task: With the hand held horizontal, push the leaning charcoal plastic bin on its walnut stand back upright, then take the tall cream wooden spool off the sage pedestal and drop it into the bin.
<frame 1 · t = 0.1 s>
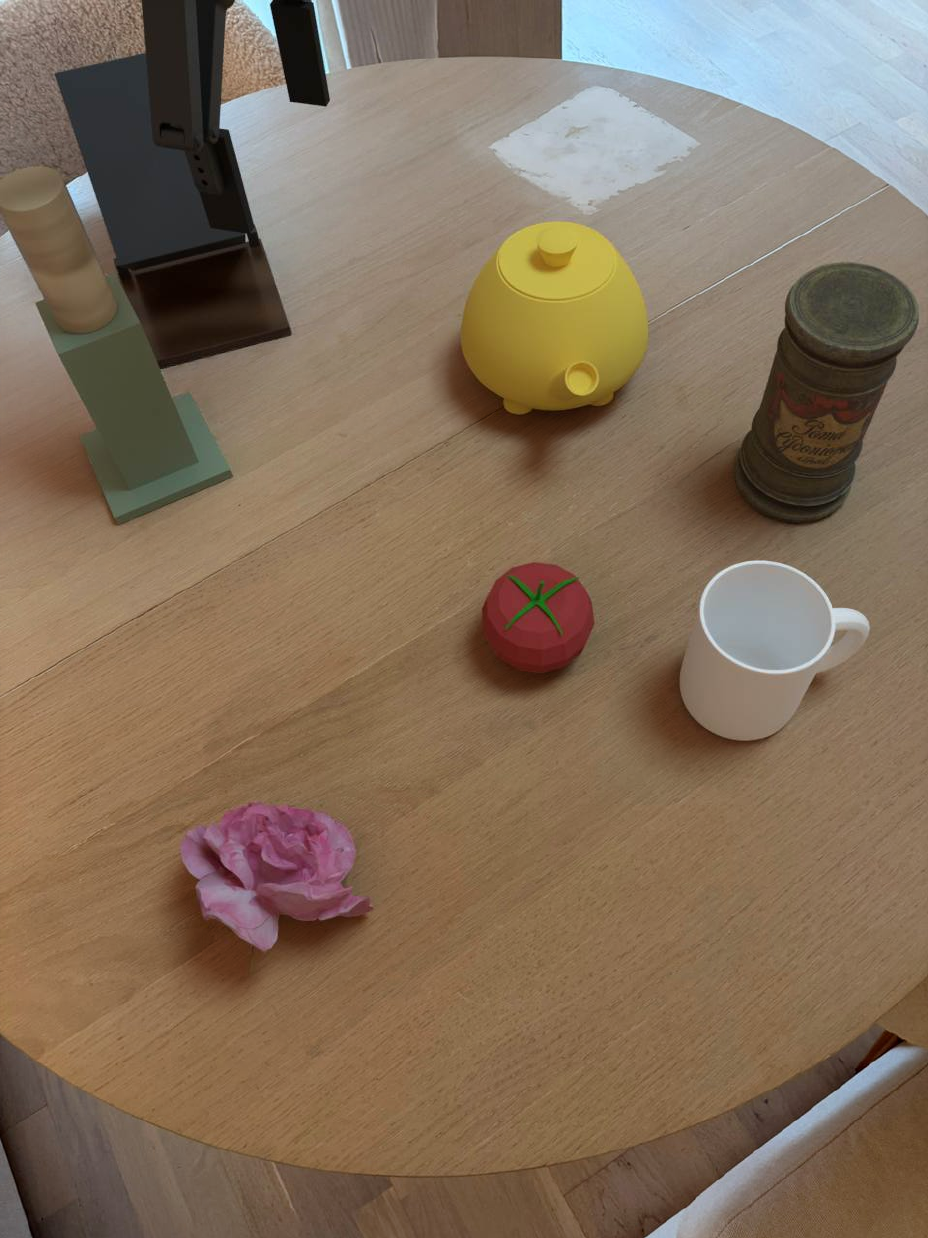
hand: (273, 161, 67), 24 cm above the table, tool pointing down, fingers open, 13 cm apart
bin stand: (203, 304, 95), on the table
teapot: (556, 389, 87), on the table
flower: (291, 886, 66), on the table
mug: (762, 688, 72), on the table
tomato: (536, 643, 74), on the table
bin: (158, 165, 89), point 10 cm above the table, hinge at 40.0°
pedestal: (157, 459, 85), on the table
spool: (86, 312, 72), point 16 cm above the table, touching pedestal
container: (789, 481, 81), on the table
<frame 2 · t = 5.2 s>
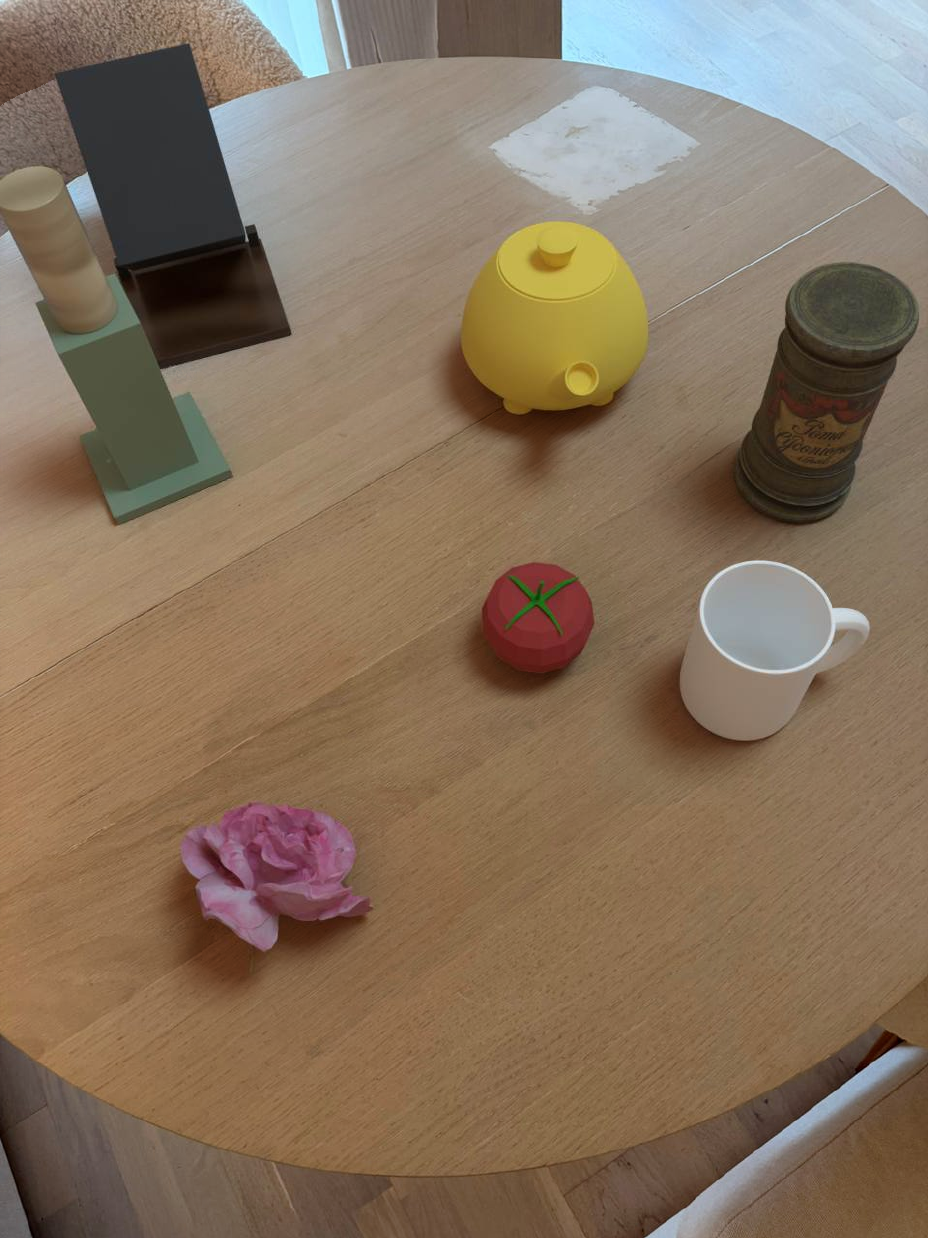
nothing on the table moved.
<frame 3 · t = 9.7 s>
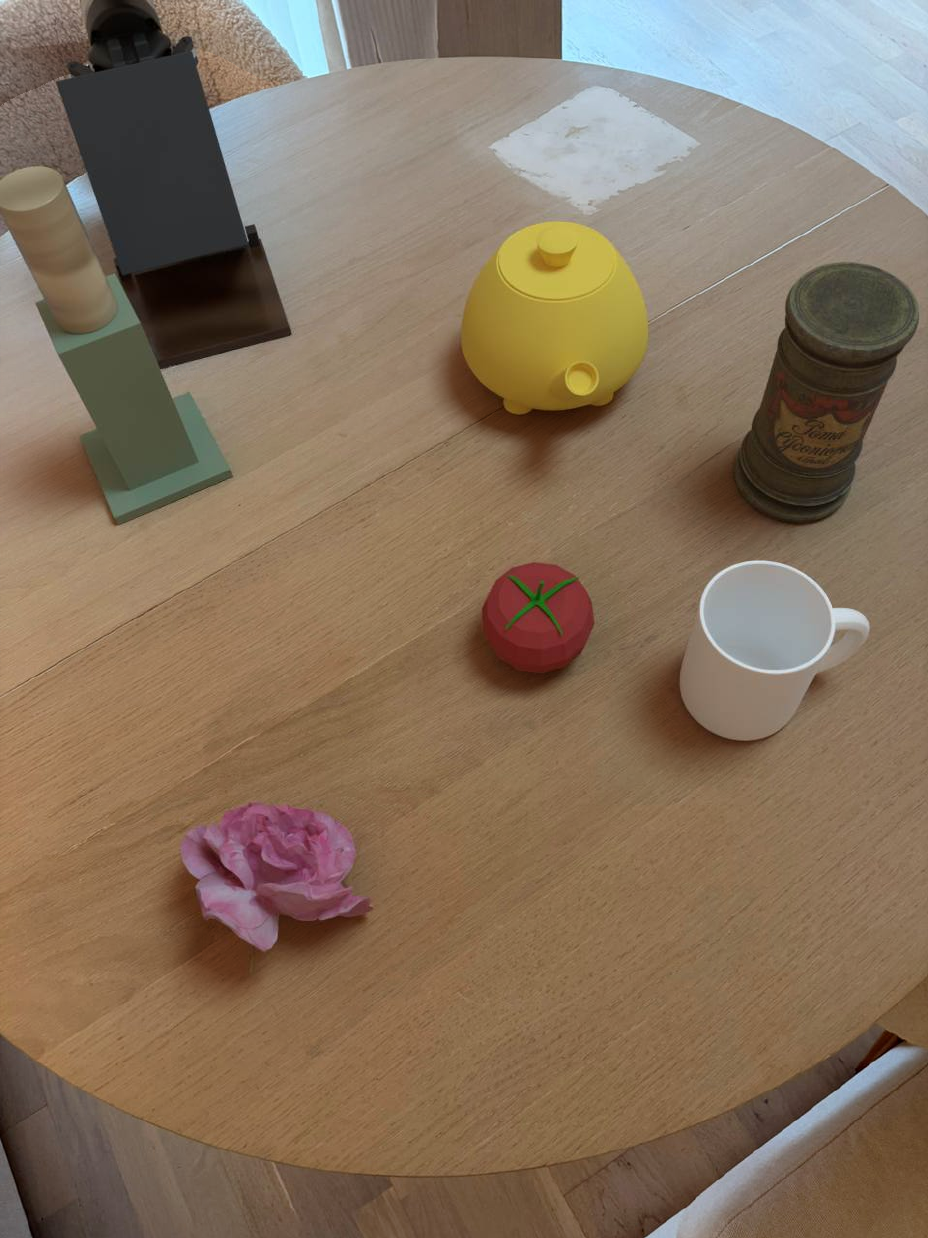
hand: (159, 154, 94), 8 cm above the table, tool horizontal, fingers closed
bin: (159, 169, 89), point 11 cm above the table, hinge at 35.9°, touching gripper
everything else where it was.
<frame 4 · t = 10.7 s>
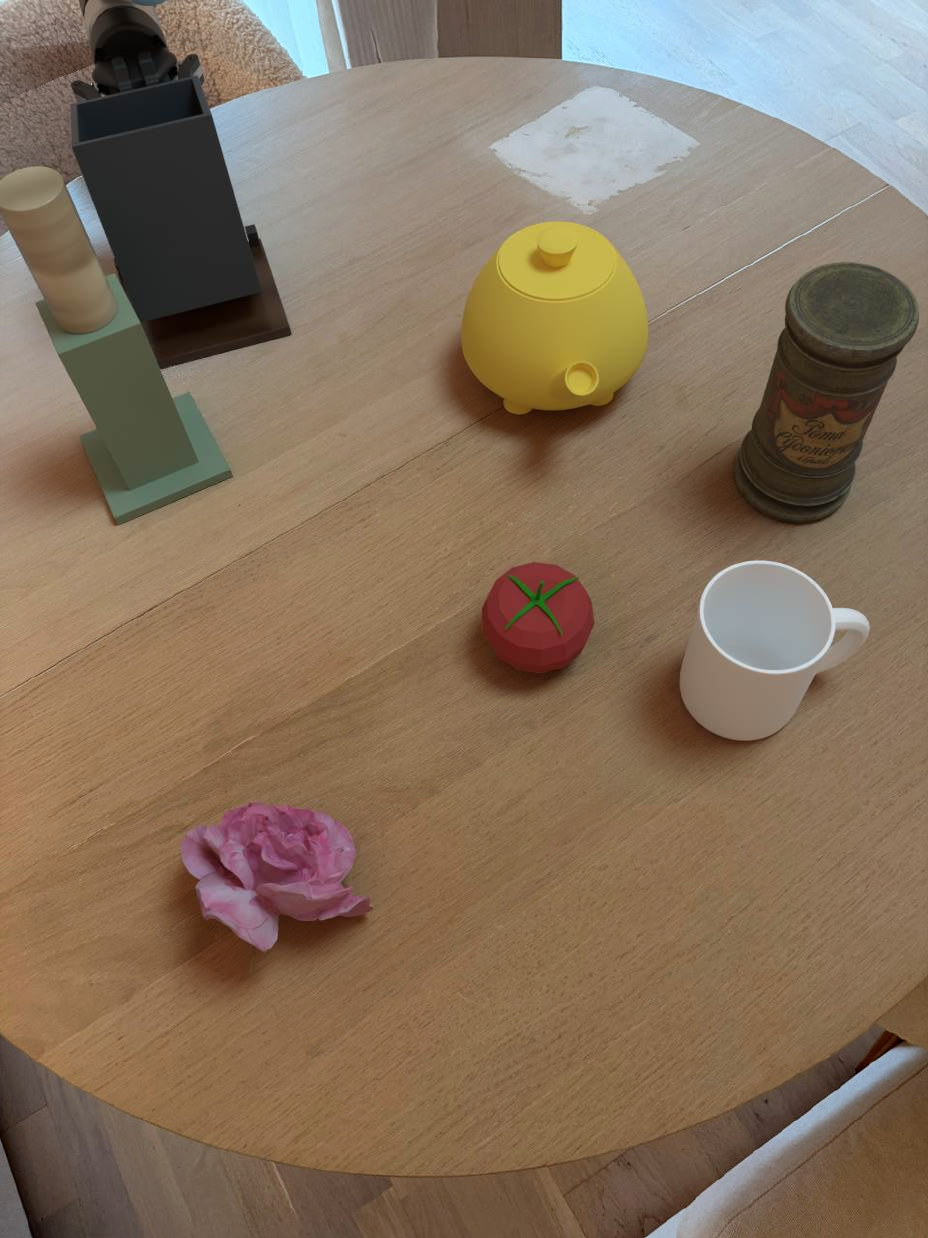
hand: (165, 176, 92), 8 cm above the table, tool horizontal, fingers closed
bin: (168, 200, 88), point 10 cm above the table, hinge at 14.1°, touching gripper
everything else where it was.
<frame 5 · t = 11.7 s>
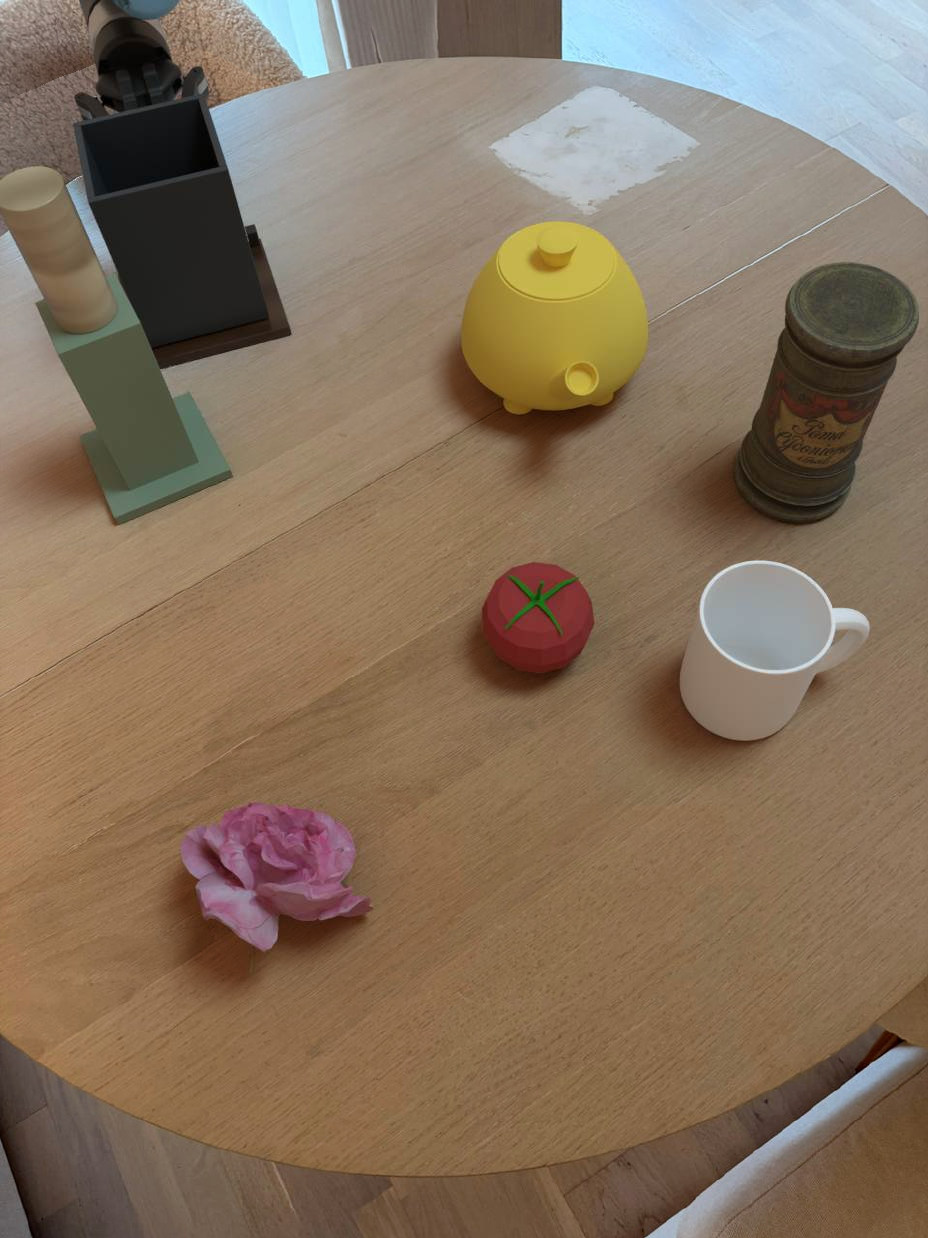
hand: (169, 191, 91), 8 cm above the table, tool horizontal, fingers closed
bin: (175, 224, 87), point 9 cm above the table, hinge at 0.1°, touching gripper
everything else where it was.
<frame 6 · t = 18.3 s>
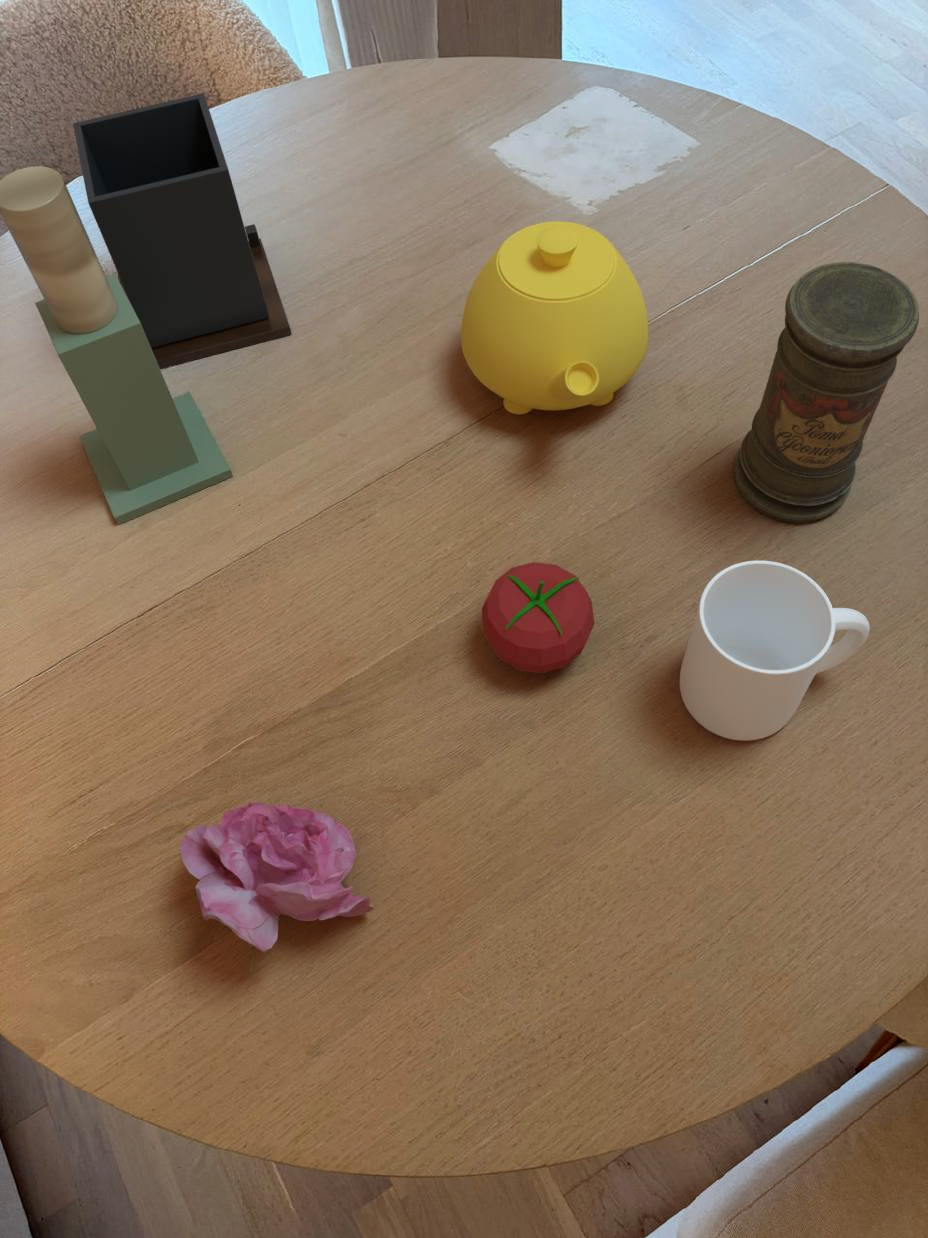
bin: (175, 224, 87), point 9 cm above the table, hinge at 0.1°
everything else where it was.
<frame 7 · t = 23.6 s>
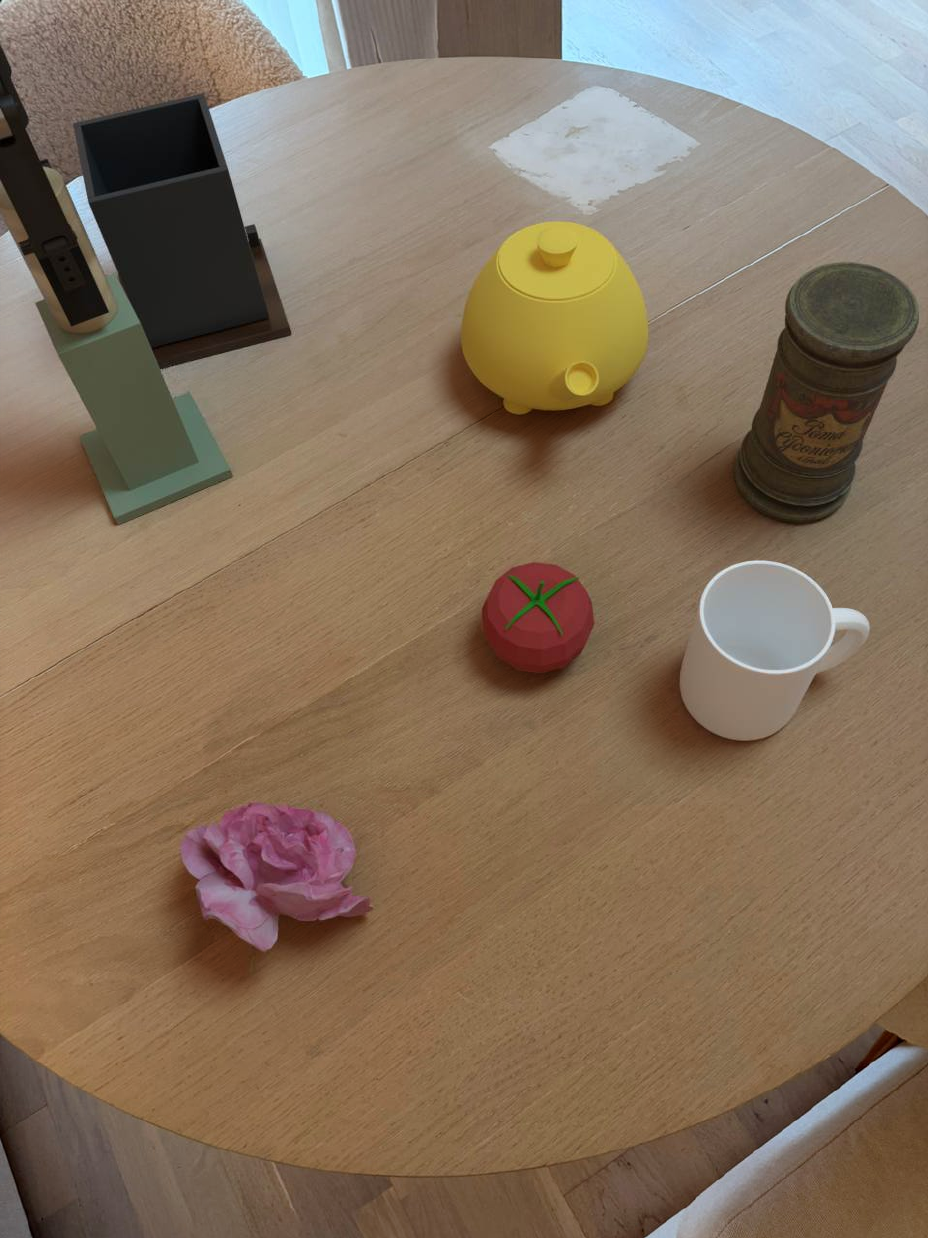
hand: (77, 293, 70), 18 cm above the table, tool pointing down, fingers closed on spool, 4 cm apart
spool: (86, 312, 72), point 16 cm above the table, touching gripper, pedestal
everything else where it was.
when the fingers open (18 cm above the table, at t = 29.9 s): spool drops 14 cm, resting on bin.
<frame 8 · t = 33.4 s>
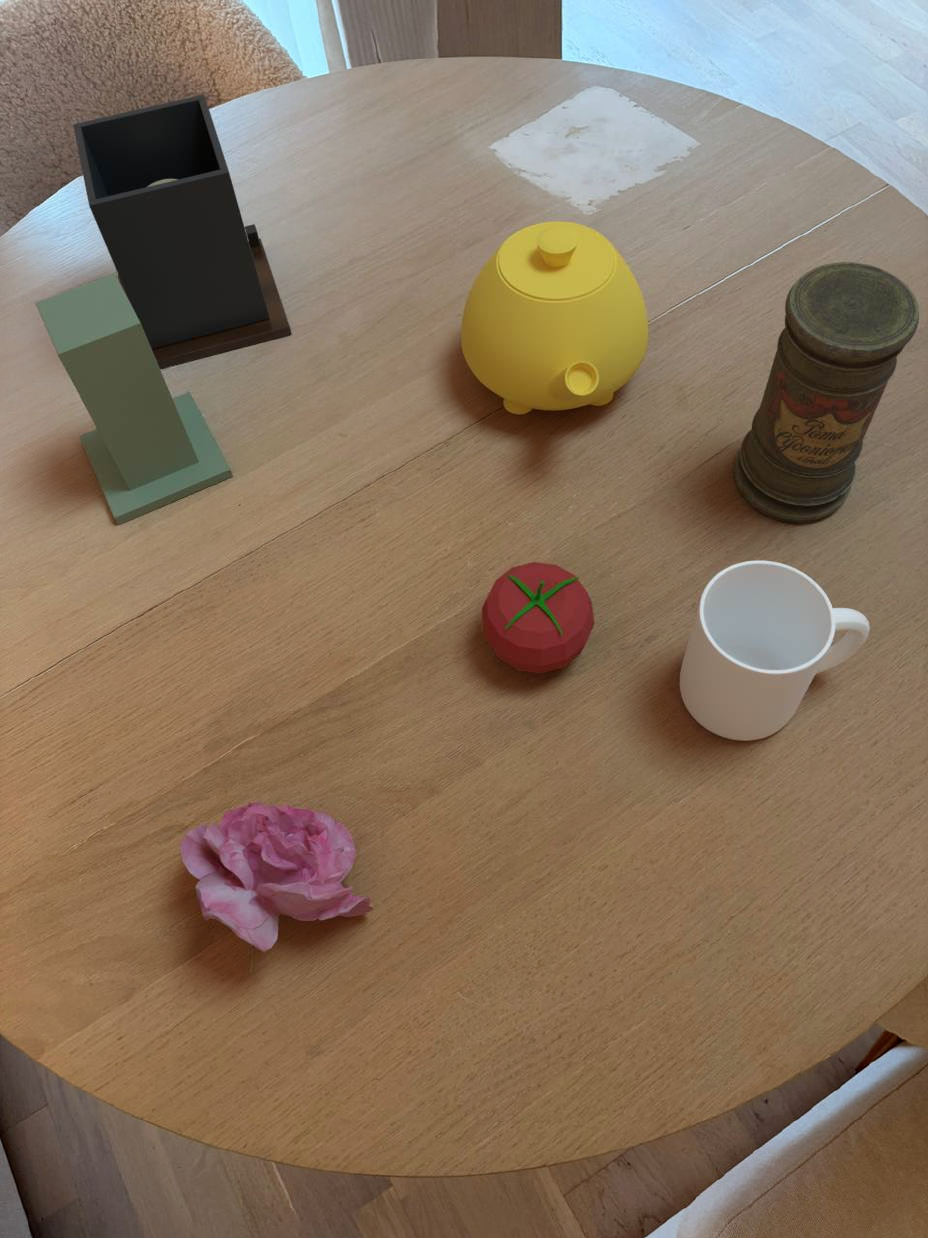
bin: (176, 226, 87), point 9 cm above the table, hinge at -0.5°, touching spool
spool: (198, 289, 93), point 2 cm above the table, touching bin
everything else where it was.
at the end: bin at +0° (first picture: +40°); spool inside the target area on the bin (0.0 cm from its centre), point 0.8 cm above the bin's base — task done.
